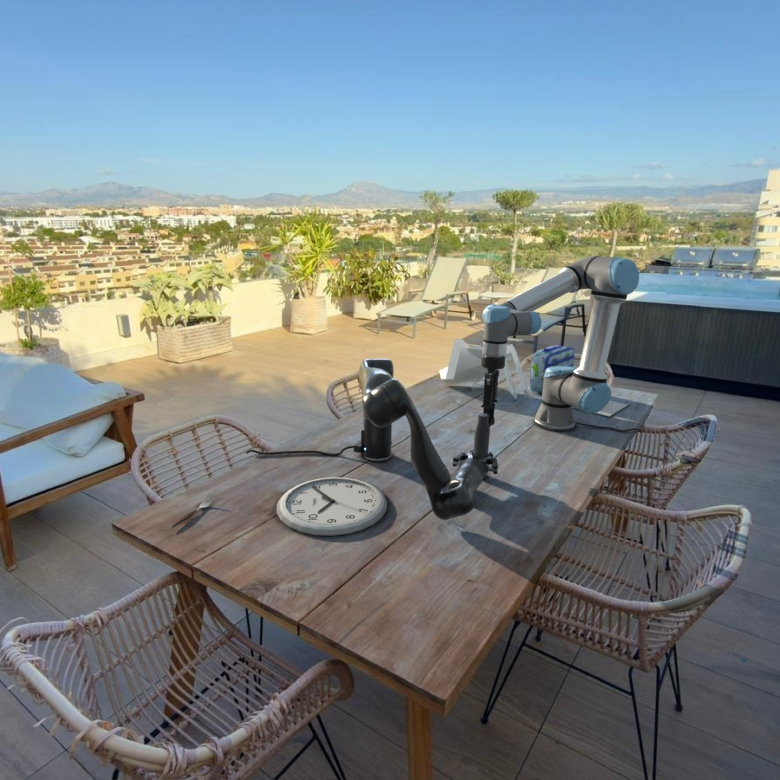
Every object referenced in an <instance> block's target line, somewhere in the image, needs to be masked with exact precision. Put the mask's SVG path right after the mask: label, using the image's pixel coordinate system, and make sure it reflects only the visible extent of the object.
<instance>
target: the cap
mask: <svg viewBox="0 0 780 780" xmlns="http://www.w3.org/2000/svg"><path fill="white" fill-rule="evenodd" d="M495 421H496V418H495V416H494V417H493V416H492V418H491V426H493V425H495Z"/></svg>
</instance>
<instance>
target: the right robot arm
mask: <svg viewBox="0 0 780 780" xmlns="http://www.w3.org/2000/svg"><path fill="white" fill-rule="evenodd" d="M639 283H640V269H639V267H638V266H637V264H636V262H635V261H634V260H632V259H630V258H627V257H621V256H619V257H617V256H601V255H592V256H587V257H585V258H581V259H579V260H577V261H575V262H573V263H571V264H568V265H566V266H565V267H563V268H561V269H560V270H559V272H558V273H557V274H556V275H554V276H551V277H550V278H548V279H546V280H544V281H542V282H540V283H538V284H536V285H534V286H533V287H531V288H529V289H527V290H525V291H523V292H521V293H519V294H517V295H514V297H512V298H510V299H507V300H506V301H504V302H502V303H499V304H489V305H487V306H485V308H484V309H483V311H482V315H481V317H482V321H483V322H484V323H483V337H482V343H481V344H480V345H481V346H482V347H483V349H482V353H483V355H482V360H481V366H482V367H484V368H487V369H488V370H487V373H485V377H484V378H483V382H484V383H483V384H484V385H483V397H482V398H483V399H482V404H481V405H480V407H481V408H483V409H482V410H483V411H482V413H486V414H488V415H489V419H488V423H489V426H490V428H491V426H492V425H491V418H492V416H493V417H495V408H496V407H495V406H496V403H498V402H499V401H498V399H497V395H498V386H499V385H498V383H499V376H500V370H503V368H504V367H505V359H506V357H505V355H506V350H507V344H508V338H509V337H514V336H515V337H516V336H530V335H535V334H537V333H539V331H540V330H541V328H542V317H541V315H540V314H539V313H538V311H536V310H539V309H540V308H542V307H544V306H546V305H548V304H549V303H551V302H553V301H555V300H557V299H559V298H561V297H562V296H565V295H566V294H568V293H569V294H574V293H576V292H578V291H581V290H591V291H590V296H591V298H592V300H593V302H592V307H591V312H590V317H589V321H588V325H587V329H586V333H585V338H584V343H583V347H582V352H581V355H580V356H581V357H580V361H579V365H578V367H577V368H576V367H574V366H573V367H567V366H556V367H549V368H547V369H546V370H545V374H544V380H543V390H542V393H541V402H540V405H539V407H538V410H537V411H536V413H535V416H534V424H535V425H536V426H537V427H539V428H542V429H544V430H549V431H556V432H567V431H572V430H574V429H575V428H576V425H579V426H584V427H585V426H586V427H591V428H596V429H606V430H607V429H608V430H613V431H616V432H622V433H627V432H631V431H637V432H638V433H640V434H643V431H642V430H641V429H639V428H636V427H633V428H627V429H619V428H615V427H612V426H602V425H601V426H600V425H595V424H590V423H583V422H577V421H576V418H575V417H576V416H575V413H574V409H576V408H577V409H576V410H579V411H581V412H583V413H588V414H596V413H597V412H599V411H601V410H602V409H603V408H604V407H605V406H606V405H607V404H608V402H609V400H610V399H611V396H612V390H611V387H610V386H609V385H608V383H607V381H608V375H607V374H606V373H605V370H606V365H607V363H608V362H607V361H608V358H609V354H610V350H611V345H612V342H613V341H612V340H613V336H614V333H615V327H616V324H617V320H618V315H619V310H620V307H621V305H622V304H623V303H624V302H626V301H627V299H628V295H631V294H633V292H634V291H635V290H636V289H637V288H638V285H639ZM610 401H611V400H610ZM574 407H575V408H574Z"/></svg>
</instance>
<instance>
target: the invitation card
mask: <svg viewBox="0 0 780 780" xmlns="http://www.w3.org/2000/svg"><path fill="white" fill-rule="evenodd" d="M628 406H629V404H627V403H623V402H618V401H614V400H609V402H608V404H607V405H606V406H605V407H604V408H603V409H602V410H601V411H599V412H597V413H595V414H596V415H600V416H604V417H608V418H609V417H611V416H613V415H614V414H616V413H617V412H619V411H621V410H623V409H624V408H626V407H628ZM573 409H575V410H578V409H577V408H575V407H573Z"/></svg>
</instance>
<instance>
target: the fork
mask: <svg viewBox="0 0 780 780" xmlns="http://www.w3.org/2000/svg"><path fill="white" fill-rule="evenodd" d="M216 495H217V494H212V493H208V494H207V495H206V497H205V498H204V499H203V501H202V502H201V503H200V505H198V507H197V508H196V509H193V510H192V511H190V512H188V513H187V514H185V515H183V517H181V518H180V519H179V520H178V521H176V522H175V523H174V524H173V525H172V526H171V529H173V528H175V527H176V526H178V525H179V524H181V523H183V522H184V521H186V520H188V519H189V518H191V517H192V516H193V515H194V514H195V513H197V511H198V510H200V509H207V508H208V507H210V505H211V504H212V502H213V501H214V499H215V497H216Z"/></svg>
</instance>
